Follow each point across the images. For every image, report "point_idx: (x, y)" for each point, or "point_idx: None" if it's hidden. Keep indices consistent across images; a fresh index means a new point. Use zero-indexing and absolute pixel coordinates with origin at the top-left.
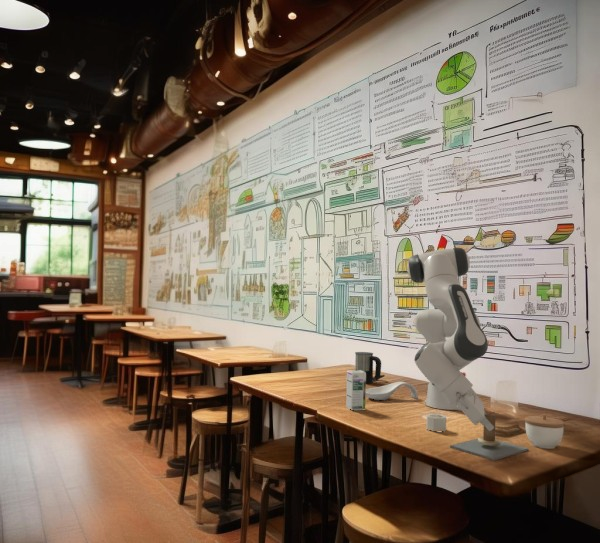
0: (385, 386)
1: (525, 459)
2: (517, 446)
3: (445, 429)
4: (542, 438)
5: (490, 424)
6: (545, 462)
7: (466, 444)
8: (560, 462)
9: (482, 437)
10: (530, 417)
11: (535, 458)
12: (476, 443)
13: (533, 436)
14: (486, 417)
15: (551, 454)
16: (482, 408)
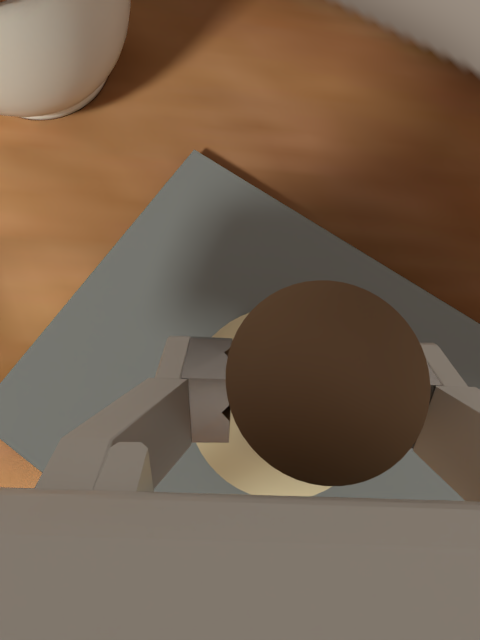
0: None
1: (413, 193)
2: (179, 208)
3: None
4: (125, 19)
5: (455, 380)
6: (414, 101)
7: None
8: (370, 35)
9: (224, 455)
10: None
11: (359, 140)
12: None
13: (90, 65)
14: (407, 437)
15: (227, 54)
16: (448, 572)
